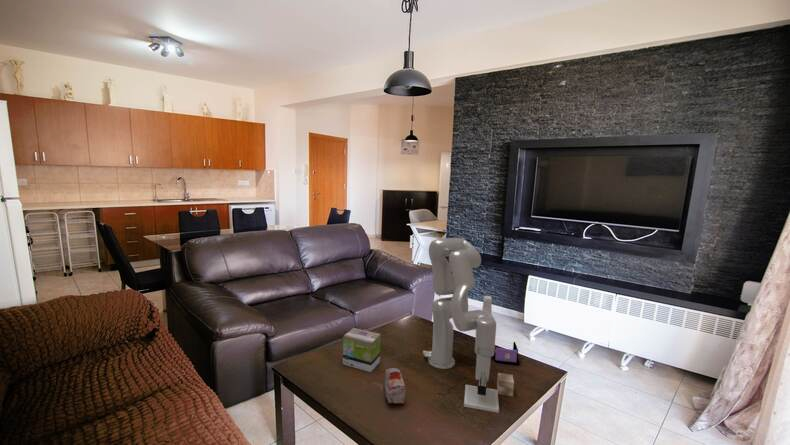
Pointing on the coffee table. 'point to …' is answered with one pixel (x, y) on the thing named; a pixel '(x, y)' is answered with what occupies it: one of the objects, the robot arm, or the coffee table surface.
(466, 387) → the plate
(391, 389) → the food item
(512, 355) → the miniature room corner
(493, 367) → the coffee table surface
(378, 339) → the tea box
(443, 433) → the coffee table surface
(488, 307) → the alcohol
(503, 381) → the maple cube
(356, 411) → the coffee table surface
